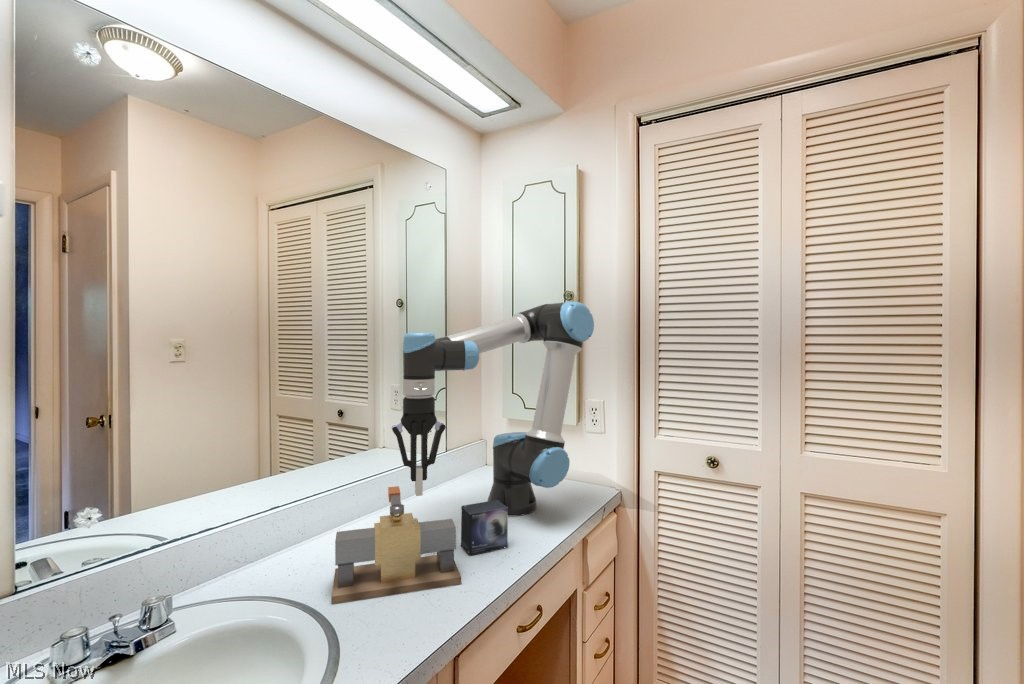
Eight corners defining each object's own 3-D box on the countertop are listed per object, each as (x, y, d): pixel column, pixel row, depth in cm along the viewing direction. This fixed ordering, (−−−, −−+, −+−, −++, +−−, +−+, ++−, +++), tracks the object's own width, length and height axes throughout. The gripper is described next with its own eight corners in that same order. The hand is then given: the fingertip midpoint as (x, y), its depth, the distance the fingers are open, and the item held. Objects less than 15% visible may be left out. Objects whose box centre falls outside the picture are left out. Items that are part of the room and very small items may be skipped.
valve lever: (404, 516, 102) (404, 506, 102) (390, 517, 101) (390, 508, 101) (399, 494, 117) (399, 486, 117) (387, 495, 116) (387, 487, 116)
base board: (451, 559, 113) (451, 552, 113) (461, 584, 101) (461, 577, 101) (335, 575, 105) (335, 568, 105) (331, 604, 94) (331, 596, 94)
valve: (451, 557, 110) (451, 503, 110) (456, 571, 104) (456, 514, 104) (337, 573, 103) (336, 515, 103) (335, 589, 96) (334, 528, 96)
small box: (469, 557, 114) (469, 513, 114) (459, 546, 120) (459, 505, 120) (508, 548, 119) (508, 506, 119) (497, 538, 125) (497, 498, 125)
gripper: (392, 399, 109) (391, 501, 109) (448, 397, 113) (448, 496, 113) (390, 395, 116) (390, 491, 116) (443, 393, 120) (443, 486, 120)
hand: (418, 493), depth 114 cm, fingers closed
